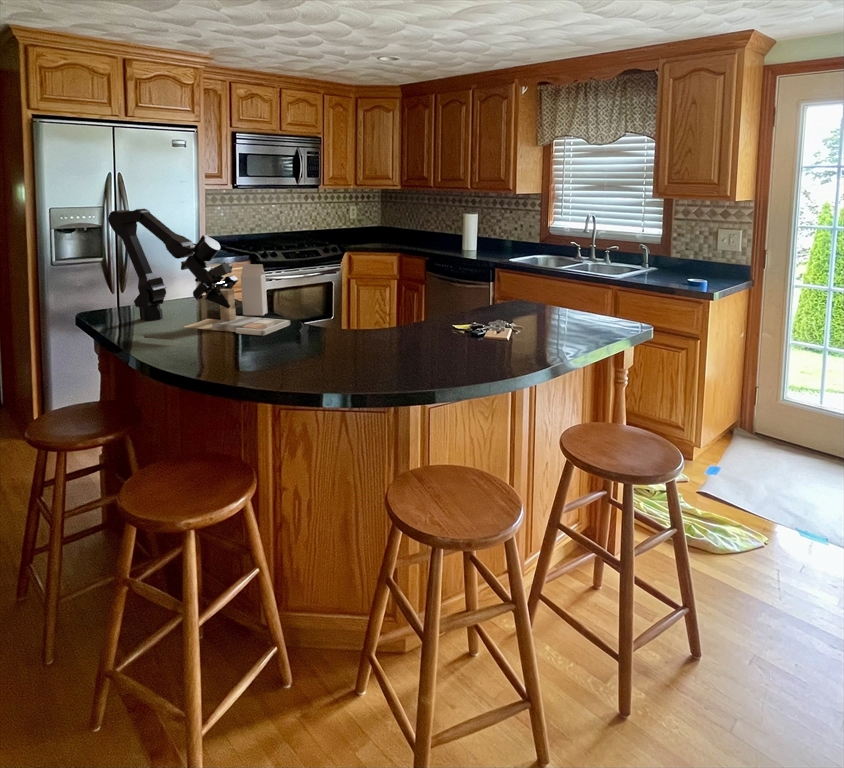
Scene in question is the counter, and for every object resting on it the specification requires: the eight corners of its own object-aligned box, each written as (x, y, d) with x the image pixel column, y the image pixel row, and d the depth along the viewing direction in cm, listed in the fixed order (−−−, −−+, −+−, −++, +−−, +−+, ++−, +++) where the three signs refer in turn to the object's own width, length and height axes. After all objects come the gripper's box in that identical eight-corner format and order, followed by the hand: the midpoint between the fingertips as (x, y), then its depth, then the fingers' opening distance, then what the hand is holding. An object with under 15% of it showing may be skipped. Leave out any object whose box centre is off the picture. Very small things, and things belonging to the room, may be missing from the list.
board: (182, 331, 247) (182, 326, 247) (208, 323, 260) (207, 318, 260) (237, 336, 241) (237, 331, 240) (261, 327, 253) (260, 323, 253)
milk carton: (263, 319, 266) (260, 265, 261) (243, 319, 266) (239, 265, 261) (267, 315, 273) (264, 263, 267) (248, 315, 273) (244, 263, 268)
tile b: (243, 334, 241) (242, 326, 241) (251, 330, 246) (251, 323, 245) (256, 335, 240) (256, 327, 239) (265, 332, 244) (264, 324, 244)
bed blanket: (212, 329, 244) (209, 292, 240) (235, 321, 256) (232, 286, 252) (241, 331, 240) (239, 294, 237) (262, 323, 252) (260, 288, 249)
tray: (236, 337, 239) (235, 328, 238) (264, 326, 255) (264, 318, 254) (263, 340, 236) (263, 330, 235) (290, 329, 251) (290, 320, 250)
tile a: (253, 330, 247) (253, 322, 246) (261, 327, 252) (261, 319, 251) (267, 331, 245) (266, 323, 245) (274, 328, 250) (274, 320, 249)
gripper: (197, 257, 235) (230, 294, 235) (231, 251, 252) (262, 285, 252) (178, 281, 240) (210, 317, 239) (213, 273, 257) (243, 307, 256)
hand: (232, 306), depth 247 cm, fingers closed on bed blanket, 3 cm apart
